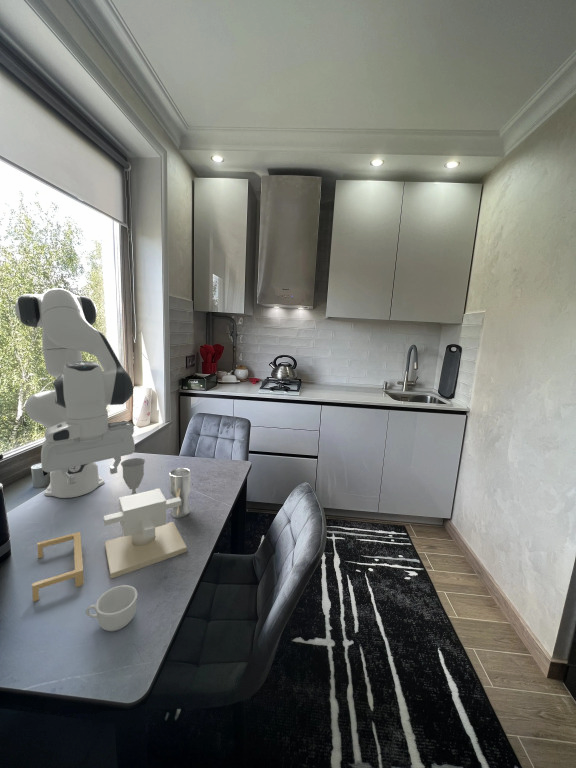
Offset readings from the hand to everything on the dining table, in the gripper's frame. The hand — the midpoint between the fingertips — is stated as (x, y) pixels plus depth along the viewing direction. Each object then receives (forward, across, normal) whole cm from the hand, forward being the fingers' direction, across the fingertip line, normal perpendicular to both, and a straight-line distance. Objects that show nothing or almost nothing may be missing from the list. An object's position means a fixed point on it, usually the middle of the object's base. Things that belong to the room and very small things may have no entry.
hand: (93, 477), depth 81 cm
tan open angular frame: (+23, +9, -2) cm, 25 cm away
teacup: (+25, +2, +21) cm, 33 cm away
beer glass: (+24, -25, -9) cm, 36 cm away
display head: (+24, -11, +2) cm, 26 cm away
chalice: (+23, -13, -18) cm, 32 cm away
